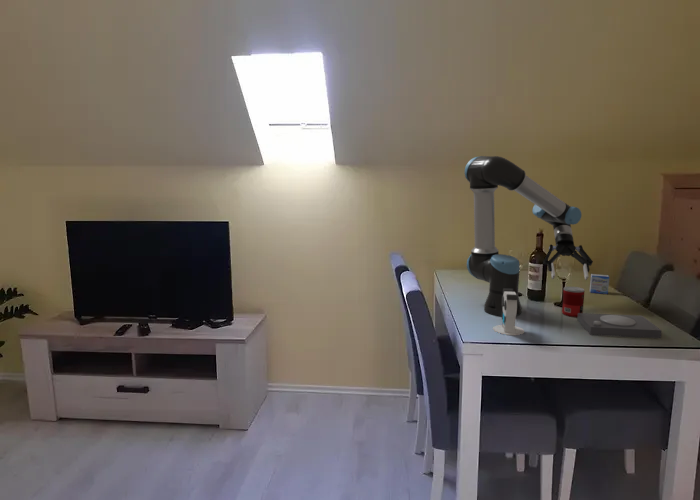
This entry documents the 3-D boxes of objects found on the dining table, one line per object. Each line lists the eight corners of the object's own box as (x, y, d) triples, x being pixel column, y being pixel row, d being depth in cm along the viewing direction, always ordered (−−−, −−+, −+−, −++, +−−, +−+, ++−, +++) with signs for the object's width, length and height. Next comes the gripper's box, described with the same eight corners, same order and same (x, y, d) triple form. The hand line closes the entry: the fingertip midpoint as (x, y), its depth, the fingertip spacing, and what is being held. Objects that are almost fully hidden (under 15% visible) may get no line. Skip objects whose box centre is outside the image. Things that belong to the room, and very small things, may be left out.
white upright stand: (491, 324, 205) (492, 287, 202) (521, 325, 203) (523, 288, 201) (494, 334, 193) (496, 295, 191) (526, 336, 192) (529, 296, 189)
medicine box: (589, 292, 253) (591, 275, 252) (589, 290, 257) (590, 273, 256) (608, 294, 250) (609, 276, 249) (607, 292, 254) (608, 274, 253)
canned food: (584, 317, 214) (586, 291, 212) (563, 316, 215) (565, 290, 213) (580, 312, 221) (582, 287, 219) (560, 311, 223) (562, 286, 221)
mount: (590, 334, 193) (591, 323, 192) (577, 320, 210) (578, 310, 210) (660, 338, 189) (661, 327, 189) (641, 323, 207) (642, 312, 206)
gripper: (590, 243, 238) (598, 283, 226) (533, 241, 242) (538, 281, 230) (595, 233, 232) (603, 273, 220) (536, 232, 236) (541, 272, 224)
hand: (570, 277), depth 225 cm, fingers open, 13 cm apart
